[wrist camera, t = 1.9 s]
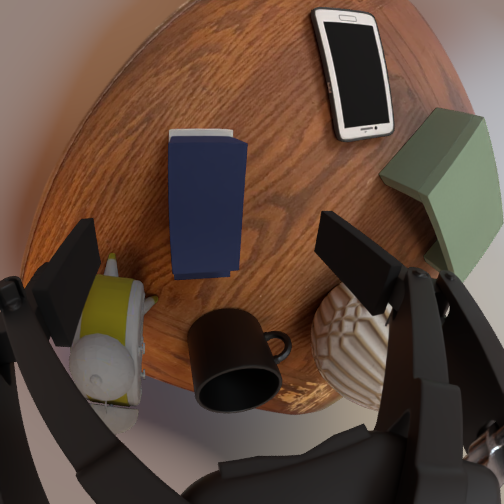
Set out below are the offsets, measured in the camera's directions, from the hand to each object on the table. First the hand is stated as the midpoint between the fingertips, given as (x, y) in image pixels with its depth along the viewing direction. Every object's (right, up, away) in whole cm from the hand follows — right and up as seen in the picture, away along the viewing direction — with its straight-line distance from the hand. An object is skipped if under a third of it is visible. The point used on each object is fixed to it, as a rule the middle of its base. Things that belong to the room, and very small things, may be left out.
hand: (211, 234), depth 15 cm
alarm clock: (-11, -5, +13) cm, 18 cm away
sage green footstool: (+28, +8, +17) cm, 34 cm away
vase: (+15, -8, +22) cm, 28 cm away
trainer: (-3, +4, +10) cm, 11 cm away
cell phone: (+13, +17, +7) cm, 23 cm away
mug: (0, -11, +19) cm, 22 cm away
